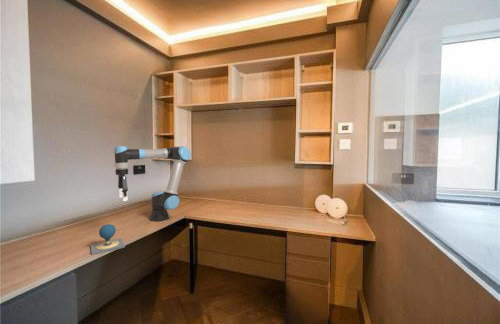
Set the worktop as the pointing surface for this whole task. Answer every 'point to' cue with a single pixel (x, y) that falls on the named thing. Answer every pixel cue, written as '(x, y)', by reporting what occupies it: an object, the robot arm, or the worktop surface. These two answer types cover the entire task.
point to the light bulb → (107, 232)
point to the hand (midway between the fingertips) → (123, 199)
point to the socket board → (107, 246)
